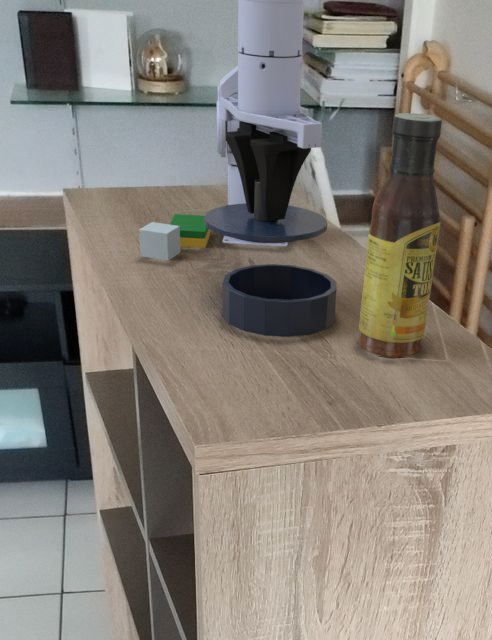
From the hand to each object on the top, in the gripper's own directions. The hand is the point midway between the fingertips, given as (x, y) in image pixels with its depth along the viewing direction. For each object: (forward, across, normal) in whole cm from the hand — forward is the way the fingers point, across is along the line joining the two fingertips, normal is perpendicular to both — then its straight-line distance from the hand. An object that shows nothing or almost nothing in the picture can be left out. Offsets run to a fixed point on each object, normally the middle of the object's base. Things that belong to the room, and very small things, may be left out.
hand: (266, 215), depth 88 cm
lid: (+1, 0, 0) cm, 1 cm away
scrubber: (+9, +23, -4) cm, 25 cm away
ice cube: (+9, +19, +2) cm, 21 cm away
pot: (+9, -4, +1) cm, 10 cm away
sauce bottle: (+9, -15, -5) cm, 19 cm away
